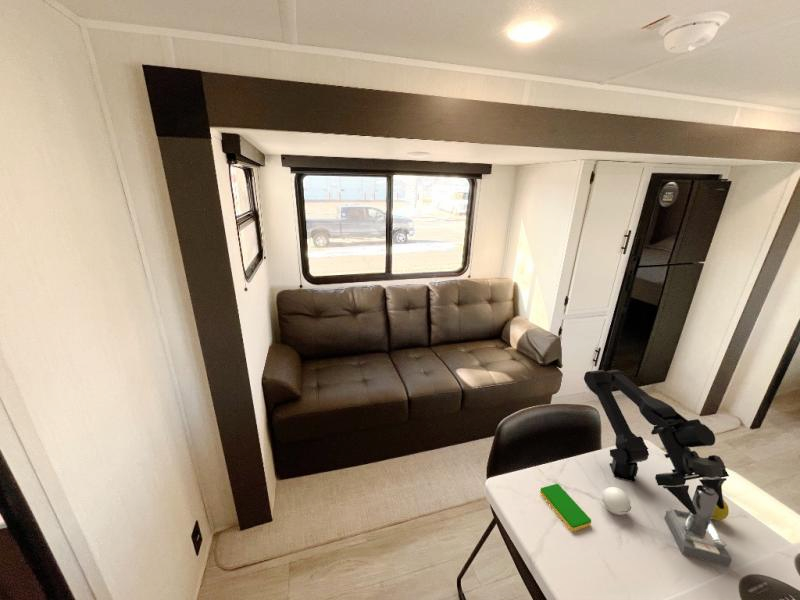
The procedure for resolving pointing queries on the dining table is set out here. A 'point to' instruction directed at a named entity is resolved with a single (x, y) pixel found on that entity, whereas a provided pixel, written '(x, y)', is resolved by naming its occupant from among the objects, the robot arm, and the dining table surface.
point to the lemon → (720, 512)
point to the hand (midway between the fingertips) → (708, 511)
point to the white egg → (616, 501)
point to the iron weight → (702, 509)
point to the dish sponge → (565, 507)
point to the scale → (697, 540)
